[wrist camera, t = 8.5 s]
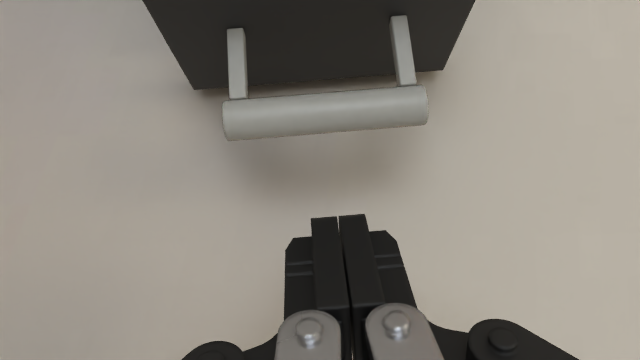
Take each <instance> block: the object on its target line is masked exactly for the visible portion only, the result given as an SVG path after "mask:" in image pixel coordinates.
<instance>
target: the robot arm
mask: <svg viewBox="0 0 640 360" xmlns="http://www.w3.org/2000/svg"><path fill="white" fill-rule="evenodd" d="M311 229H312V236H311V237H299V238H293V239H292V241H291V242H290V244H289V245H288V247H287V249H286V250H285V300H284V321H283V323H282V324H281V326H280V328H279V330H278V333H277V334H276V335H275V336H274V337H273V338H272V339H270V340H269V341H267V342H266V343H264V344H262V345H259V346H257V347H254V348H252V349H249V350H246V351H243V352H242V350H241V349H240V348H239V347H237V346H236V345H234V344H232V343H230V342H225V341H214V342H209V343H205V344H203V345H201V346H198V347H197V348H195V349H193V350H192V351H191V352H190V353H188V354H187V355H186V356H185V357H184V358H183V359H182V360H352V354H353V360H579V359H577V358H575V357H573V356H572V355H570V354H568V353H567V352H565V351H563V350H561V349H560V348H558V347H556V346H554V345H553V344H551V343H549V342H547V341H546V340H544V339H542V338H540V337H539V336H537V335H535V334H533V333H532V332H530V331H528V330H527V329H525V328H523V327H521V326H519V325H517V324H515V323H513V322H510V321H507V320H501V319H488V320H484V321H481V322H479V323H477V324H475V325H474V326H473V327H472V328H471V330H470V332H469V333H465V332H460V331H454V330H449V329H444V328H441V327H439V326H436V325H434V324H432V323H431V322H429V321H428V320H427V319H426V317H425V316H424V314H423V313H422V312H420V311H419V310H418V309H417V306H416V303H415V300H414V297H413V293H412V290H411V287H410V284H409V280H408V277H407V274H406V271H405V267H404V264H403V261H402V258H401V256H400V251H399V248H398V244H397V241H396V240H395V239H394V238H393V237H392V236H391V235H390V234H389V233H388V232H387V231H386V230H383V231H371V232H369V230H368V225H367V221H366V217H365V214H358V215H346V216H339V229H338V222H337V216H335V217H322V218H311ZM339 235H340V236H339ZM351 347H352V348H351Z"/></svg>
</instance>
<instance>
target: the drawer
mask: <svg viewBox="0 0 640 360" xmlns="http://www.w3.org/2000/svg"><path fill="white" fill-rule="evenodd" d="M143 2H144V4H145V5H146V7H147V9H148V11H149V12H150V14H151V16H152V18H153V19H154V21H155V23H156V25H157V26H158V28H159V30H160V32H161V33H162V35H163V37H164V39H165V40H166V42H167V44H168V46H169V47H170V49H171V51H172V53H173V54H174V56H175V58H176V59H177V61H178V63H179V65H180V66H181V68H182V70H183V72H184V73H185V75H186V77H187V79H188V80H189V82H190V84H191V86H192V87H193V89H194V90H200V89H213V88H225V87H229V99H230V101H224V102H223V105H222V121H223V129H224V133H225V136H226V139H227V140H228V141H235V140H248V139H260V138H272V137H285V136H297V135H309V134H322V133H334V132H346V131H358V130H371V129H383V128H395V127H408V126H420V125H425V124H426V122H427V119H428V97H427V92H426V89H425V87H424V86H423V85H417V86H416V83H417V82H416V75H415V72H425V71H437V70H443V69H444V67H445V64H446V62H447V60H448V58H449V56H450V54H451V51H452V49H453V47H454V45H455V43H456V41H457V39H458V36H459V34H460V32H461V30H462V28H463V26H464V24H465V21H466V19H467V17H468V15H469V13H470V11H471V8H472V6H473V4H474V2H475V0H143ZM387 74H396V79H397V87H392V88H379V89H367V90H355V91H342V92H330V93H317V94H305V95H292V96H280V97H268V98H255V99H248V86H250V85H263V84H275V83H287V82H300V81H312V80H325V79H337V78H350V77H362V76H375V75H387Z"/></svg>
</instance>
